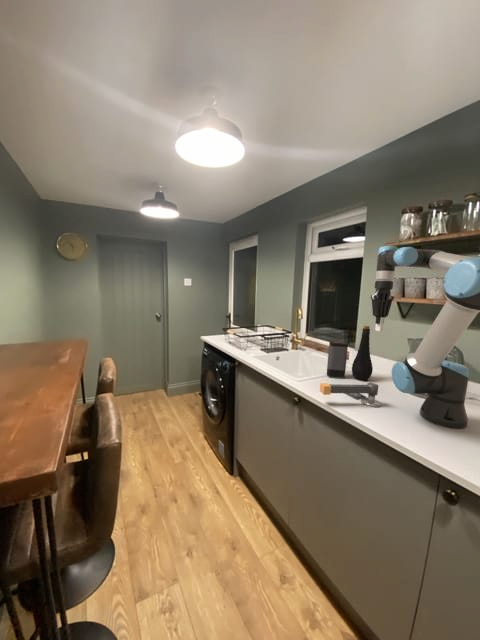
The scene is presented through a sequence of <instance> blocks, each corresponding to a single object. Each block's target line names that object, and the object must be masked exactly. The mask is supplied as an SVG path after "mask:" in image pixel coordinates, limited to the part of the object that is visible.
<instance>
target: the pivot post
mask: <svg viewBox="0 0 480 640" xmlns="http://www.w3.org/2000/svg"><path fill="white" fill-rule="evenodd" d="M367 395H368V396H367V398H362V399H360V403H361V404H363V405H365V406H367V407H371V408H380V407H382V402H381V401H380V400H377V399H376V395H370V394H367Z"/></svg>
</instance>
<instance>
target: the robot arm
mask: <svg viewBox="0 0 480 640" xmlns="http://www.w3.org/2000/svg"><path fill="white" fill-rule="evenodd" d="M377 253H378V254H377V259H376V261H377V263H376V271H375V272H376V274H375V280H376V281H375V282H374V290H375V292H374V294H371V295H370V299H371V308H372V309H371V310H372V316H373V317H375V329H374V331H376V332H383V327H384V323H385V318H387V317H388V316H389V313H390V310H391V307H392V303H393V300H394V299H395V296H394V295H392V293H391V290H393V287H394V280H395V279H394V278H395V274H396V273H395V271H396V267H405V268H406V267H410V268H423V269H429V270H432V271H437V272H440V273H442V274H445V276H444V278H443V282H445V283H443V288H444V291H445V293H444V296H445V298H446V302H445V304H444V305H443V307H442V308H441V310H440V312H439V313H438V315H437V316H436V317H435V320H434V321H433V322H432V324H431V326H430V327H429V329H428V330H427V333H426V334H425V336H424V337H423V339H422V341H421V342H420V344H419V345H418V347H417V349H416V350H415V352H411V353H409V354H407V356H406V358H405V359H404V361H403V362H402V361H398V362H395V363H394V364H393V365H392V369H391V378H392V382H393V384H394V386H395V388H396V389H397V390H398V391H399V392H401V393H403V394H409V395H416V394H417V395H419V394H420V395H427V396H426V398H425V399H424V402H422V404H421V406H420V409H419V416H421V417H422V418H423V419H424V420H427V421H429V422H431V423H433V424H436V425H439V426H442V427H446V428H451V429H466V428H467V427H468V424H469V423H468V422H469V421H468V420H469V418H468V415H467V411H466V406H465V401H466V396H467V390H468V384H469V379H470V376H469V375H470V369H469V367H467V366H466V365H463V364H461V363H457V362H454V361H450V360H445V359H446V358H447V357H448V355H450V352H451V351H452V350H453V349H454V347H455V346H456V344H457V343H458V342H459V340H460V338H461V337H462V336H463V334H464V333H465V332H466V331H467V329H468V327H469V326H470V325H471V323H472V322H473V321H474V319H475V318H476V317H477V315H478V314H479V313H480V256H479V257H470V256H465V255H460V254H455V253H450V252H445V251H443V250H439V249H419V248H418V249H417V248H415V247H413V246H403V247H399V248H398V247H397V246H394V245H383V246H381V247H379V249H378V252H377Z"/></svg>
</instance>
